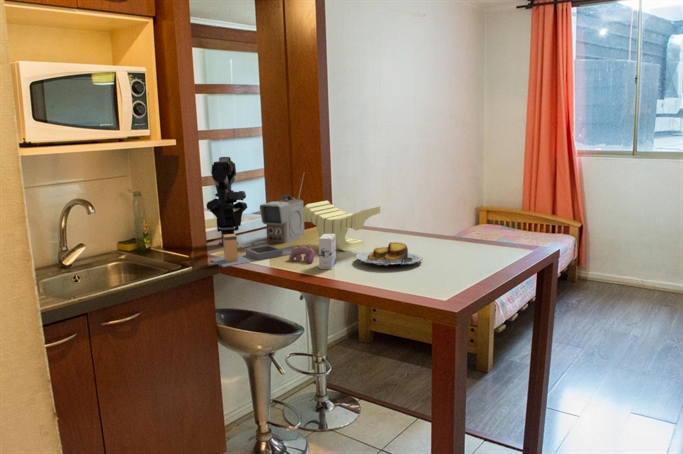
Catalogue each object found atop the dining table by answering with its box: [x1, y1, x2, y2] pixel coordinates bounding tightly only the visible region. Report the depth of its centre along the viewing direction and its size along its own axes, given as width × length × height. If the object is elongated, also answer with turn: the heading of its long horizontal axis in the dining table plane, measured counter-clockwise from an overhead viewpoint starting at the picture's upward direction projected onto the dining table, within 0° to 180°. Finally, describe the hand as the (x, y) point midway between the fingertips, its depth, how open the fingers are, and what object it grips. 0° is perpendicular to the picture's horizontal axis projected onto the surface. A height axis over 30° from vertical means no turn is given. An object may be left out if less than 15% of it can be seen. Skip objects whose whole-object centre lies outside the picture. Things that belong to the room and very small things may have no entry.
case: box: [245, 244, 296, 261], centre depth 236 cm, size 11×22×3 cm, turn 125°
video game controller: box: [288, 245, 316, 265], centre depth 224 cm, size 10×5×7 cm, turn 72°
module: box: [222, 233, 239, 262], centre depth 225 cm, size 5×5×10 cm
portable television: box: [259, 172, 305, 244], centre depth 260 cm, size 12×24×30 cm, turn 157°
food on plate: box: [355, 241, 423, 266], centre depth 220 cm, size 25×25×7 cm
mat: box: [209, 253, 254, 269], centre depth 226 cm, size 14×12×1 cm
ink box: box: [318, 234, 337, 270], centre depth 215 cm, size 9×5×12 cm, turn 168°
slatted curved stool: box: [303, 200, 381, 252], centre depth 245 cm, size 30×16×18 cm, turn 49°
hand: (231, 225), depth 235 cm, fingers open, 9 cm apart
